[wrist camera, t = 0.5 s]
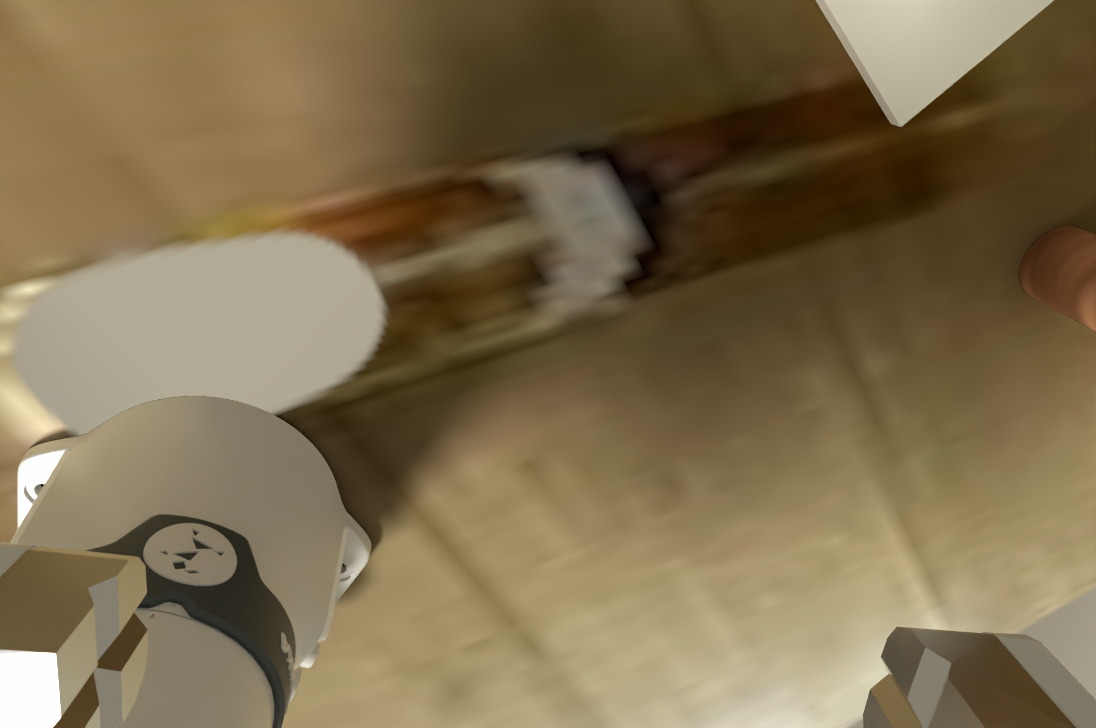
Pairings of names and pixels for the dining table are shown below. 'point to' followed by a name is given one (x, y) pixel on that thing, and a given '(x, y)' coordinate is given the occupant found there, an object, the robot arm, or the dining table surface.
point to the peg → (1063, 273)
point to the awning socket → (921, 43)
